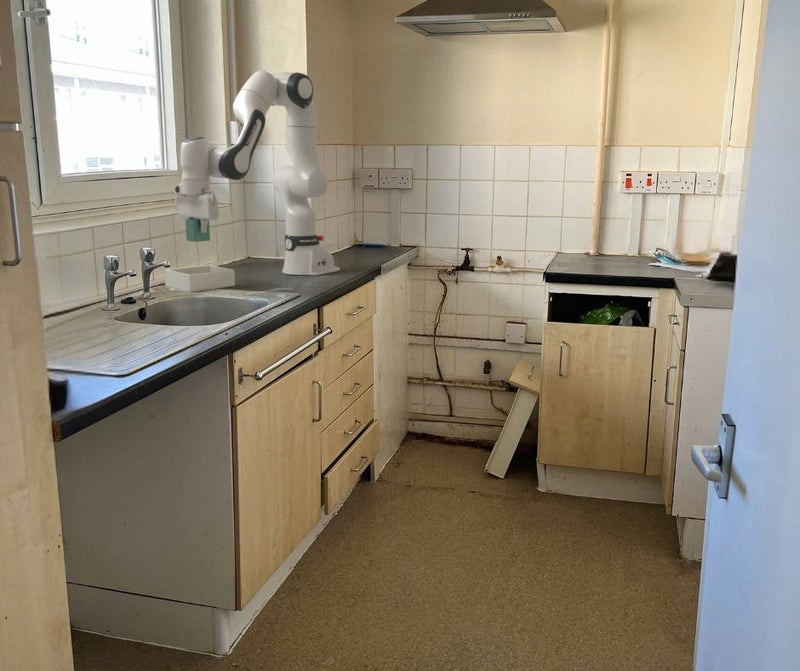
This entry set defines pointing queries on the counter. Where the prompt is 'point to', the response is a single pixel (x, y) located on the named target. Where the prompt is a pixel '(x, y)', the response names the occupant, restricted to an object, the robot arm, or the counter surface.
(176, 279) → the tote
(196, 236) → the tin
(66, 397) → the counter surface
